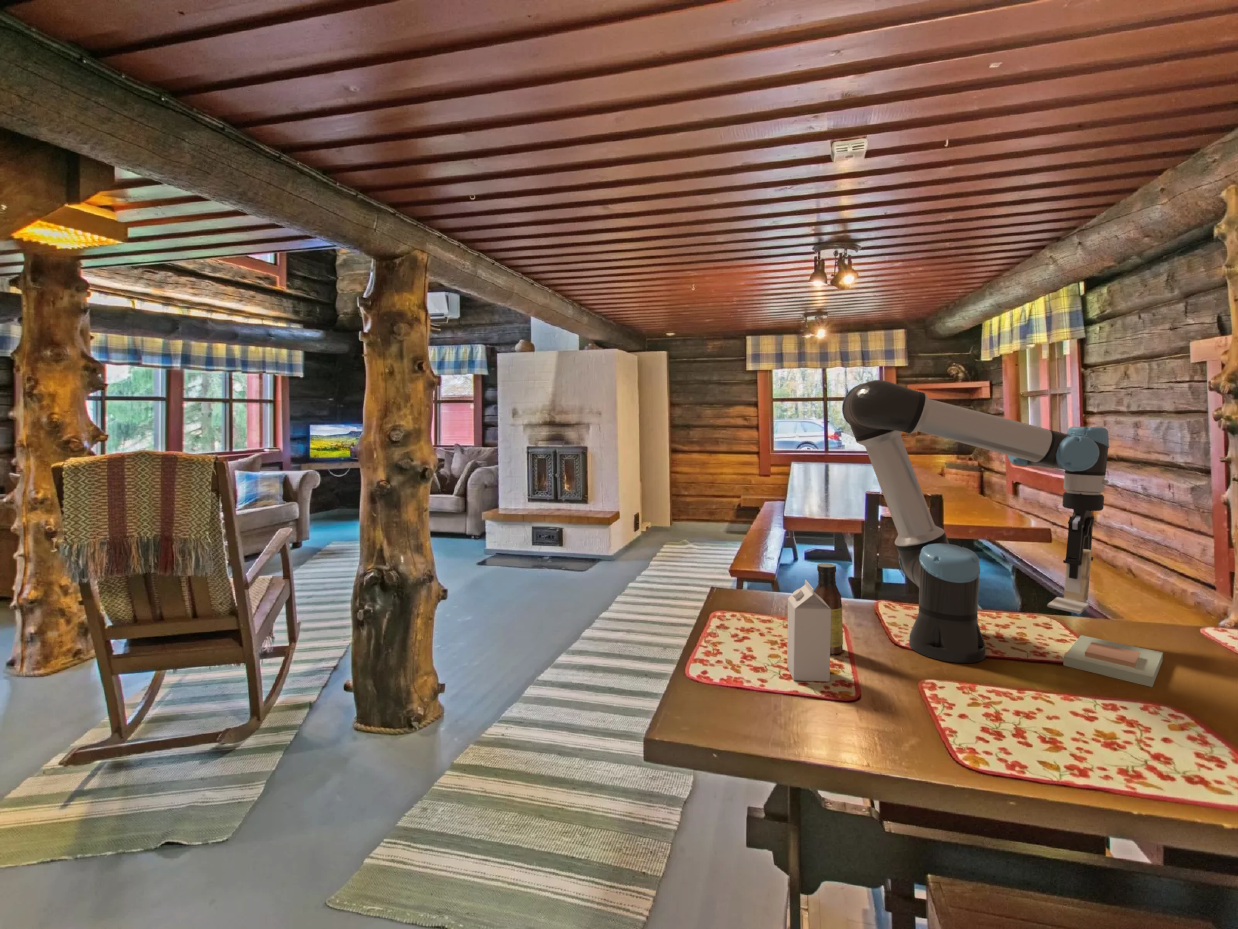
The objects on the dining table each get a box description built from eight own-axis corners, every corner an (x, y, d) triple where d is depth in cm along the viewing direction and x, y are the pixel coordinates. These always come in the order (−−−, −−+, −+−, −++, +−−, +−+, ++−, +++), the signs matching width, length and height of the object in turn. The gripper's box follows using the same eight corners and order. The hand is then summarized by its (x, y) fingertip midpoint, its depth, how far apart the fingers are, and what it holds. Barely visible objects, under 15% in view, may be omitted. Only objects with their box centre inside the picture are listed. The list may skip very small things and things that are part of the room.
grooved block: (1080, 643, 135) (1081, 635, 135) (1162, 661, 124) (1163, 652, 124) (1063, 665, 123) (1063, 656, 123) (1152, 687, 112) (1152, 677, 112)
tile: (1084, 651, 122) (1084, 657, 122) (1135, 663, 116) (1135, 668, 116) (1091, 641, 127) (1091, 647, 127) (1140, 652, 121) (1139, 657, 122)
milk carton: (820, 667, 122) (822, 580, 121) (829, 682, 115) (831, 589, 114) (786, 666, 123) (788, 579, 122) (793, 681, 116) (794, 588, 115)
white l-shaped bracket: (1063, 594, 141) (1066, 546, 140) (1094, 600, 136) (1098, 550, 136) (1047, 606, 131) (1051, 555, 130) (1080, 613, 127) (1084, 560, 126)
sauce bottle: (845, 648, 133) (847, 563, 131) (839, 658, 127) (841, 569, 126) (816, 643, 136) (817, 560, 135) (809, 651, 131) (810, 566, 129)
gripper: (1095, 497, 126) (1087, 600, 128) (1112, 491, 138) (1104, 585, 140) (1053, 493, 131) (1046, 592, 133) (1073, 488, 144) (1066, 579, 146)
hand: (1076, 588), depth 137 cm, fingers closed on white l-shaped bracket, 6 cm apart
